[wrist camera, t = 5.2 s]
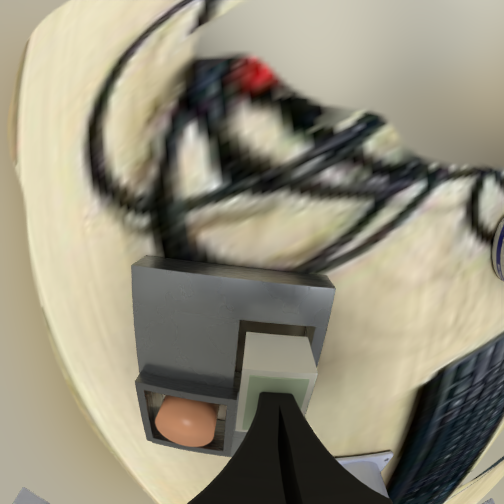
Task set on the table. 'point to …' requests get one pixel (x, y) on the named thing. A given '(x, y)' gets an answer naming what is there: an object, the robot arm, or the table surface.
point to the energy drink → (499, 251)
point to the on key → (274, 372)
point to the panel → (212, 332)
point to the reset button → (187, 421)
